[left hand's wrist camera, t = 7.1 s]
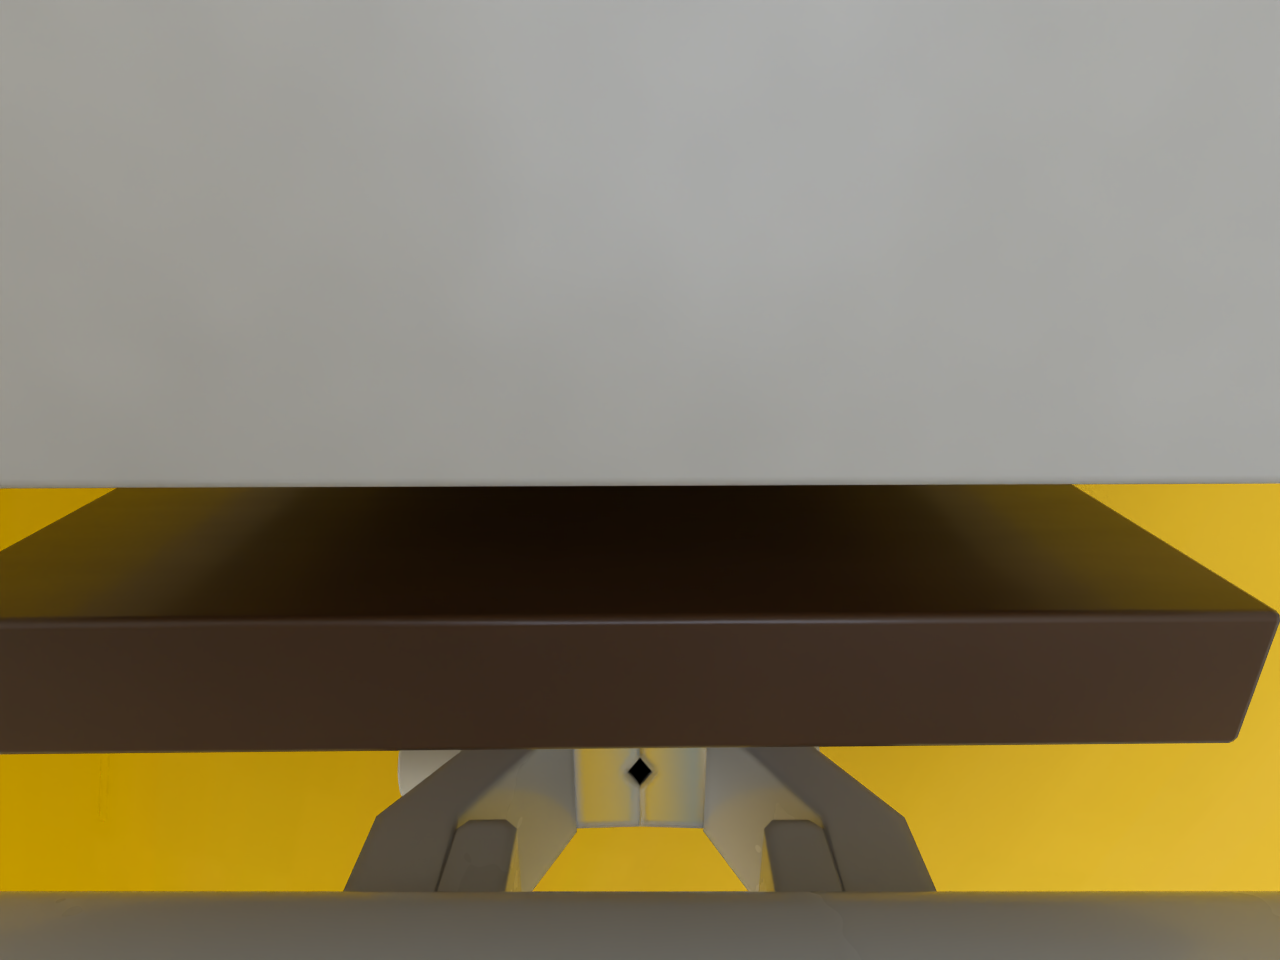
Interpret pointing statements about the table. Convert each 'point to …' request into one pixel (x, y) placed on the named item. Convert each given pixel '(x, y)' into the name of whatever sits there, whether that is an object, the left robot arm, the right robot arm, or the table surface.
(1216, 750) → the table surface
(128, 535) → the drawer
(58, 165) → the cabinet
